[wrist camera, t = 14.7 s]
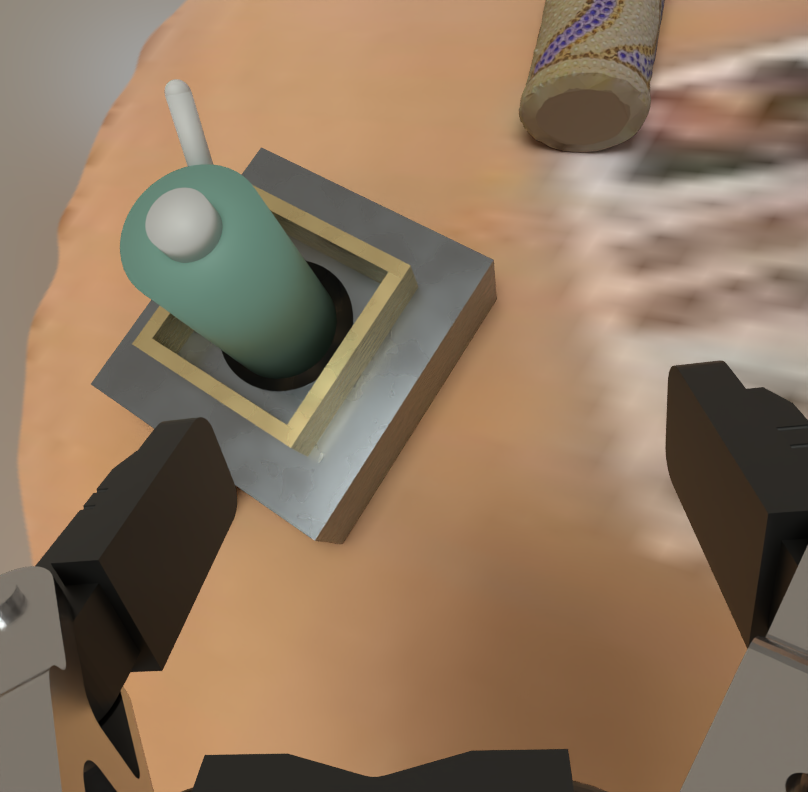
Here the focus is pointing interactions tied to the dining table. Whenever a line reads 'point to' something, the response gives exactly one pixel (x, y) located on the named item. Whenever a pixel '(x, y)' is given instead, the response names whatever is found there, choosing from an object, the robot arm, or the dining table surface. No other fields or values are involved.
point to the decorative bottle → (591, 73)
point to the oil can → (225, 260)
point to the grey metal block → (337, 370)
